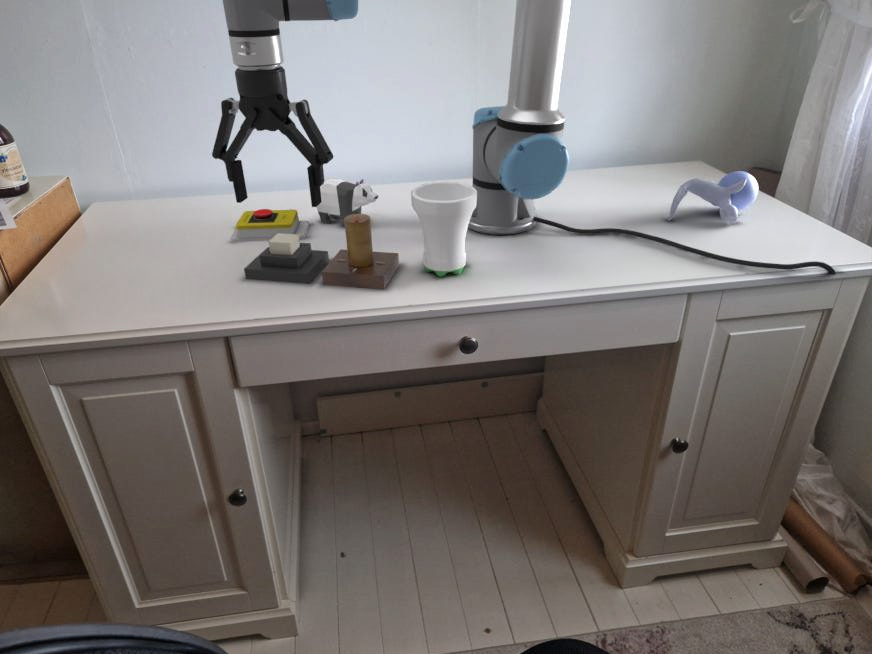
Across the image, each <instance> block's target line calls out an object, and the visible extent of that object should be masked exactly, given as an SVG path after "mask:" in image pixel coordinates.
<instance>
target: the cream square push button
mask: <svg viewBox="0 0 872 654" xmlns="http://www.w3.org/2000/svg"><path fill="white" fill-rule="evenodd" d="M300 243H301V242H300V240H299V235H297V234H280V233H278V234H276V235H275V236H274V237H273V238H272V239H271V240H270V241H268V247H270V253H271V254H282V255H293V254H294V253H295V252H296V251H297V250H298V249H299V248H300Z"/></svg>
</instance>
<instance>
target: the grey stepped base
mask: <svg viewBox="0 0 872 654" xmlns="http://www.w3.org/2000/svg"><path fill="white" fill-rule="evenodd" d="M329 262H330V258H329V250H316V249H312V244H311V242H300V248H299V249H298V250H297V251H296V252H295V253H294V254H293V255H282V254H271V253H270V247H269V246H268V247H266V248H265V249H264V250H263V251H262V252H261V253H260V254H259V255H257V256H256V257H255V258H254V259H252V261H251V262H250V263H249V264H247V265H246V266H245V267H244V268H243V269H244V276H245V280H252V281H254V280H255V281H268V282H280V283H281V282H282V283H295V284H308V285H310V284H311V283H312V282H313V281H314V279H315V278H316V277H317V276H318V275H319V273H320V272H322V271H323V270H324V268H325V267H326V266H327V265H328V264H329Z"/></svg>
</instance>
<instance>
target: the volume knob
mask: <svg viewBox="0 0 872 654" xmlns="http://www.w3.org/2000/svg"><path fill="white" fill-rule="evenodd" d="M344 222H345V226H344V231H345V241H346V250H347V253H348V263H349V264H350V265H351V266H355V267H364V266H368V265H371V264H372V263H373V261H374V260H373V252H374V248H373V247H374V246H373V236H372V235H373V234H372V223H371V216H370V215H368V214H367V213H361V214H352V215H348V216H346V217H345V218H344Z"/></svg>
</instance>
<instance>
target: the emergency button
mask: <svg viewBox="0 0 872 654" xmlns="http://www.w3.org/2000/svg"><path fill="white" fill-rule="evenodd" d="M310 224H311V223H310V221H309V220H300V217H299V213H298V210H297V209H275V210H274V209H269V208H261V209H257V210H246V211H243V213H242V214H241V216H240V217H239V219H238V220H237V222H236V224H235V228H234V230H233V232H232V233H231V235H230V236H229V238H230V241H231V242H234V243H235V242H237V243H239V242H266V241H268V242H269V241H270V240H271V239H272V238H273V237H274V236H275V235H276V234H278V233H280V234H297V235H299V241H301V240H304V239H305V238H306V236H307V233H308V231H309V228H310Z"/></svg>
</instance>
